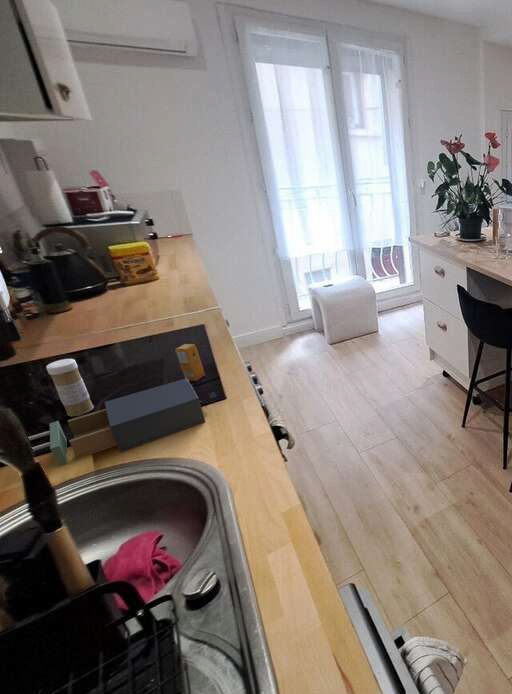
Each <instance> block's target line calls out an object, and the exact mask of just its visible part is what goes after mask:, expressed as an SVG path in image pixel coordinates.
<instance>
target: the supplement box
mask: <svg viewBox="0 0 512 694" xmlns="http://www.w3.org/2000/svg"><path fill="white" fill-rule="evenodd" d="M196 345H197V344H195V343H184V344H182V345H180V346H178V347H177V348H175V349H174V352H175V354H176V357H177V359H178V360H177V361H178V362H179V365H180V366H179V367H180V368H181V371H182V373H183V377H184V379H185V378H187V380H188V381H189V382H198V381H199V380H201V379H202V378H203V377H205V376H206V372H205V370H204V367H203V363H202V360H201V358H200V354H199V351H198V349H197V346H196Z"/></svg>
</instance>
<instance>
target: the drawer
mask: <svg viewBox="0 0 512 694" xmlns="http://www.w3.org/2000/svg"><path fill="white" fill-rule="evenodd" d="M67 423H68V426H69V428H70V430H71V433H72V435H73V438H71V439H69V444H70V447H71V448H72V451H73V453H74V456H75V457H76V459H79V458H82V457H85V456H88V455H93V454H96V453H99V452H102V451H105V450H108V449H110V448H113V447H116V446H118V445H117V443H116V440H115V438H114V435H113V433H112V430H111V428H110V424H109V420H108V415H107V411H106V408H103V409H100V410H97V411H94V412H91V413H90V412H89V413H86V414H83V415H80V416H76V417H73V418H71V419H68V420H67ZM46 436H49V442H45V443H42V444H39V445H36V446H33V447H31V448H32V449H33V452H36V451H38V450H42V449H44V448H47V447H49V449H50V451H51V454H52V456H53V458H54V460H55V463H56V464H57V467H61V466H62V467H63V466H65V465H67V464H68V444H67V437H66V435H65V433H64V431H63V429H62V426H61V424H60V422H59V420H56V421H53V422H50V423H49V430H48V431H44V432H40V433H37V434H34V435H30V436H28V438H29V440H30V441H34V440H36V439H40V438H43V437H46Z"/></svg>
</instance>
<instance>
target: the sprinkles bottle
mask: <svg viewBox="0 0 512 694" xmlns="http://www.w3.org/2000/svg"><path fill="white" fill-rule="evenodd" d="M45 368H46V371H47V374H48V375H49V376H50V377H51V380H52V382H53V385H54V387H55V389H56V391H57V395H58V397H59V399H60V401H61V403H62V405H63V407H64V409H65V411H66V415H67V416H68V417H72V418H75V417H80V416H84V415H87V414H89V413H90V412H92V411H93V410H94V408H95V406H94V404H93V403H92V400H91V398H90V394H89V392H88V390H87V389H88V388H87V387H86V384H85V382H84V379H83V378H82V376H81V374H80V372H79V367H78V364H77V362H76V360H75V359H74V358H64V359H59V360H55V361H53V362H50V363H48V364H47V365H46V366H45Z"/></svg>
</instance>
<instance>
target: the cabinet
mask: <svg viewBox="0 0 512 694" xmlns="http://www.w3.org/2000/svg"><path fill="white" fill-rule="evenodd" d="M104 406H105V409H106V411H107V415H108V420H109V424H110V428H111V430H112V433H113V435H114V438H115V440H116V443H117V445H116V446H117V448H118V450H119V452H120V453H123V452H125V451H128V450H131V449H134V448H136V447H140V446H142V445H145V444H148V443H151V442H154V441H156V440H159V439H162V438H164V437H167V436H169V435H172V434H176V433H178V432H181V431H184V430H187V429H189V428H192V427H195V426H197V425H200V424H203V423H205V422H206V419H205V416H204V411H203V409H202V405H201V402H200V398H199V397H198V395H197V393H196V392H195V390H194V388H193V386H192V384H191V383H190V381H188V380H187V378H185V377H184V378H182V379H179V380H175V381H172V382H168V383H165V384H162V385H157V386H155V387H151V388H148V389H145V390H140V391H137V392H134V393H130V394H128V395H124V396H121V397H117V398H113V399H110V400H106V401H104Z"/></svg>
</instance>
